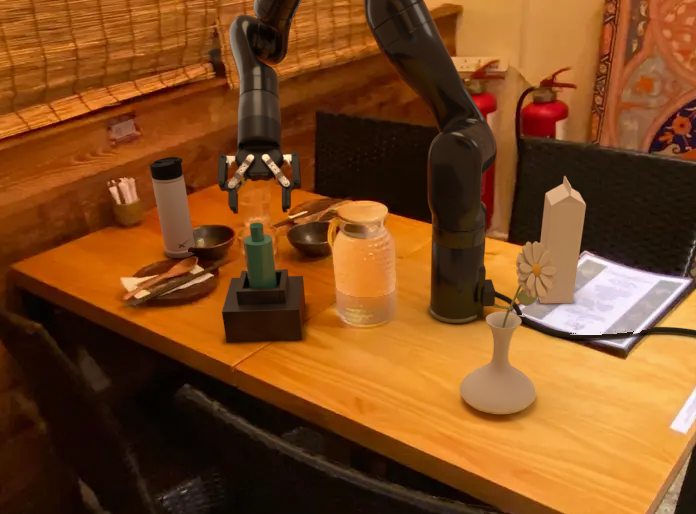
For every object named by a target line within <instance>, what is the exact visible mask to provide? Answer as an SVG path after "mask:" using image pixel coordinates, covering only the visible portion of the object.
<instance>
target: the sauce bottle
mask: <svg viewBox="0 0 696 514" xmlns="http://www.w3.org/2000/svg"><path fill="white" fill-rule="evenodd" d="M242 241H243V248H244V255H245V263H246V264H245V265H246V271H247V273H248V281H249V288H250V289H251V288H277V279H276V270H277V269H276V261H275V260H276V259H275V251H274V244H273V243H274V242H273V237H272V236H271V235H269V234H267V233H265V230H264V225H263V223H262V222H252V223H250V224H249V235H247V236H245V237H244V238H243V240H242Z"/></svg>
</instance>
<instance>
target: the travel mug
mask: <svg viewBox="0 0 696 514" xmlns="http://www.w3.org/2000/svg"><path fill="white" fill-rule="evenodd" d="M182 163H183V158H181V157H179V156H169V157H168V156H167V157H163V158H160V159H156V160H154V161H153V162H152V163H150V164H149V171H150V175H151V182H152V188H153V192H154V198H155V203H156V209H157V214H158V219H159V224H160V230H161V235H162V241H163V245H164V251H165V255H166V256H167V257H169V258H171V259H185V258H186V259H187V258H189V257H191V256H193V255H194V254H195V253H192V252H188V249H189V248H190V247H194V246H195V247H196V242H195V237H194V231H193V224H192V219H191V213H190V206H189V201H188V195H187V189H186V188H187V187H186V183H185V177H184V171H183V166H182Z"/></svg>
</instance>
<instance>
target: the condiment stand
mask: <svg viewBox="0 0 696 514" xmlns="http://www.w3.org/2000/svg"><path fill="white" fill-rule="evenodd" d="M275 270H276V279H277V288H251V289H250V288H249V281H248V273H247V270H241V271H240V275H239V277H231V278H230V282H229V285H228V289H227V291H226V292H227V293H226V296H225V300H224V303H223V307H222V310H221V315H222V322H223V328H224V335H225V341H226V343H255V342H285V341H286V342H287V341H288V342H289V341H302V340H303V333H304V325H305V324H304V323H305V313H306V295H305V284H304V283H305V281H304V275H289V268H282V269H281V268H280V269H275Z"/></svg>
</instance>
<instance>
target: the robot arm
mask: <svg viewBox="0 0 696 514" xmlns="http://www.w3.org/2000/svg"><path fill="white" fill-rule="evenodd" d="M301 2H302V0H253V2H252V6H253V7H252V8H253V12H254V15H255V16H253V15H249V14H239V15H237V16H236V17H234V18H233V20H232V21H231V23H230V26H229V29H228V43H229V50H230V52H231V54H232V59H233V62H234V65H235V68H236V72H237V77H238V107H237V152H236V154H235V155H227V154H226V153H225V152H220V153H219V155H218V168H217V180H216V181H217V185H218V187H219V191H221V192H227V196H228V197H227V203H228V205H227V206H228V207H229V210H230V211H231V212H232V213H233V214H234V215H238V214H239V194H238V193H239V191H240V189H242V187H244V186H245V185H246V184H247V183H248V181H249V180H250V181H251V182H258V181H264V182H269V181H270V180H271V179H273V181H275V182H276V183H277V185H279V187H280V188H281V210H282V214H283V213H288V210H290V209H291V208H292V192H293V191H294V190H301V189H302V186H303V185H302V175H301V174H302V173H301V164H300V163H301V162H300V155H299V153H298V151H297V150H293V151H292V152H290V154H289V153H288V154H283V152H282V112H281V106H280V77H279V75H278V74H279V73H278V72H277V71H276V70H275V68H273V67H272V66H276V65H279V64H281V63H282V62H283V61H284V60H285V58H286V57H287V54H288V50H289V39H290V31H291V27H292V22H293V20H294V17H295V14H296V12H297V10H298V9H299V7H300V5H301ZM363 10H364V11H363V12H364V17H365V22H366V24H367V26H368V29H369V31H370V33H371V35H372V38H373V40H374V41H375V43H376V45H377V47H378V49H379V51H380V53H381V54H382V57H383V58H384V59H385V61H386V63H387V65H388V66H389V67H390V68H391V70H393V72H394V73H395V74H396V75H397V76H398V77H399V78H400V79H401V80H402V81H403V82H404V83H405V84H406V85H407V86H408V87H409V88H410V89H411V90H412V91H413V92H414V93H415V94H416V95H417V96H418V97H419V98H420V99H421V101H422V102H423V103H424V105H425V106H426V108H427V110H428V111H429V113H430V115H431V117H432V119H433V121H434V123H435V125H436V127H437V130H438V132H439V133H438V134H437V135H436V136H435V137H434V138H433V139H432V141H431V143H430V146H429V149H428V154H427V163H426V164H427V165H426V166H427V167H426V170H427V172H426V173H427V174H426V175H427V203H428V207H429V210H430V213H431V245H430V247H431V249H430V250H431V251H430V253H431V254H430V296H429V297H430V299H429V313H430V315H431V316H432V318H434V319H436V320H438V321H440V322H443V323H449V324H464V323H470V322H473V321H475V320H478V319H483V318H484V307H485V308H486V307H488V308H489V307H493V306H494V303H496V298H497V299H498V300H501V301H503V302H504V303H507V304H508V305H509V306H510V305H511V302H512V300H513V299H512V298H510V297H509V296H507V295H506V294H505V295H504V294H503V293H501V292H498V291H496V289H495V285H494V283H493V280H492V279H491V278H489V279H486V274H487V269H486V265H485V254H486V237H487V222H488V207H487V205H486V204H485V202H483V201H482V179H483V177H482V176H483V175H484V173H486V172H487V171H488V170H489V169H490V168H491V167H492V165H493V164H494V162H495V160H496V158H497V152H498V148H497V140H496V136H495V134H494V132H493V130H492V128H491V127H490V125H489V123H488V121H487V119H486V118H485V116H484V115H483V114H482V112H481V110H480V108H479V107H478V105H477V103H476V101H475V100H474V99H473V97H472V96H471V94H470V92H469V90H468V89H467V87H466V85H465V84H464V82H463V79H462V77H461V76H460V73H459V72H458V69H457V67H456V65H455V63H454V61H453V59H452V56H451V55H450V52H449V50H448V48H447V46H446V44H445V42H444V40H443V38H442V36H441V34H440V31H439V29H438V26H437V25H436V22H435V20H434V18H433V16H432V14H431V12H430V10H429V8H428V5H427V3H426V1H425V0H363ZM285 163H286V164H287V166H288V167H289V168H292V179H288V178H287V176H285V175H284V173H283V171H282V170H281V168H282V166H283V165H284V164H285ZM235 164H236V166H237V167H238V169H237V170H236V171H235V172H234V175H233V177H232V178H231V179H230V180H229V181H228V178H229V170H231V169H232V168H233V165H235ZM512 309H513V310H514V311H515V313H516V315H517V316H518V315H522V314H523V312H522V310H521V308H520V306H519V305H518V303H516V301H515V302H514V304H513V306H512ZM520 318H521V322H523V323H524V324H526V325H527V326H529V327H531V328H533V329H535V330H537V331H539V332H541V333H543V334H546V335H551V336H556V337H560V338H567V339H574V340H591V339H606V338H608V339H609V338H621V337H628V336H633V335H632V334H633V332H634V331H633V332H627V333H617V334H602V335H570V334H572V333H573V334H574V333H575V334H576V333H577V332H570V331H563V330H558V329H553V328H549V327H548V328H547V327H544V326H541V325H539V324H537V323H535V322H534V321H532V320H531V319H529V318H528V317H527V316H525V317H520ZM650 327H651V329H647V330H642V331H641V332H640V333H638V334H637V335H641V334H649V333H650V334H652V333H670V334H683V335H690V336H696V329H693V328H692V329H691V328H686V327H677V326H675V327H674V326H650ZM569 332H570V333H569ZM630 334H631V335H630Z"/></svg>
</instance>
